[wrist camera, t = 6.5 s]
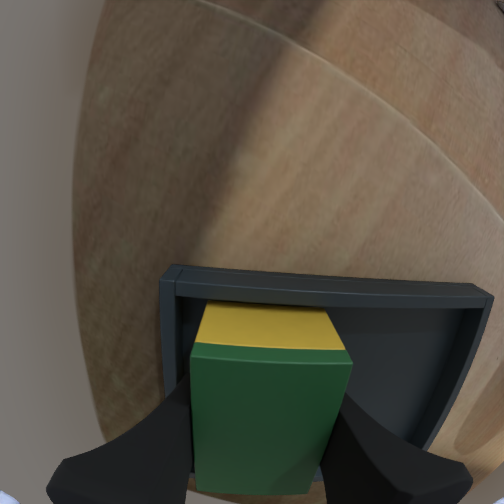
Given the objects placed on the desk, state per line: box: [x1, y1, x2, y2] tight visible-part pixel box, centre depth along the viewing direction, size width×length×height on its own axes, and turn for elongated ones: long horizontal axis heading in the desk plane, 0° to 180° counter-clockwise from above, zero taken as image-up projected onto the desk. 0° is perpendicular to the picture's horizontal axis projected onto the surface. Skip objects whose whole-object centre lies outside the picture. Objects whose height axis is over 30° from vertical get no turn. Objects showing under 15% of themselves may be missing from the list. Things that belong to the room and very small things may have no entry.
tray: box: [159, 264, 494, 482], centre depth 13 cm, size 15×12×2 cm
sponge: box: [190, 300, 353, 495], centre depth 11 cm, size 4×7×4 cm, turn 175°
